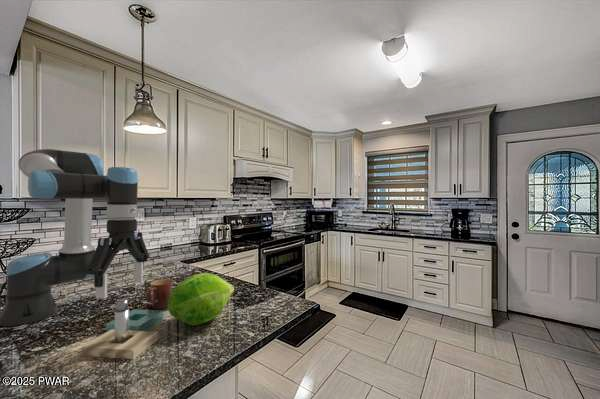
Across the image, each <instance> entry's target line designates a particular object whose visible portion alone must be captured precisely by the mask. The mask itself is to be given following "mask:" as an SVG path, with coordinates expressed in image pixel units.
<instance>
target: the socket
mask: <svg viewBox="0 0 600 399" xmlns="http://www.w3.org/2000/svg"><path fill="white" fill-rule="evenodd" d="M163 319H164V310H161V309H137V308H135V309H134V308H133V309H132V310H129V330H132V331H148V330H150V329H151V328H152V327H153V326H155V325H157V324H158V323H159V322H160V321H162V320H163ZM112 329H114V330H115V319H113V320H111V321H110V322H108V323H106V324H105V333H106V332H108V331H110V330H112ZM147 329H148V330H147Z"/></svg>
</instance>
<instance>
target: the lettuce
mask: <svg viewBox="0 0 600 399" xmlns="http://www.w3.org/2000/svg"><path fill="white" fill-rule="evenodd" d="M234 291H235V287H234V286H233V285H232V284H231V283H230V282H228V281H226V280H225V279H223V278H222V277H220V276H218V275H216V274H214V273H210V272H208V273H207V272H206V273H205V272H204V273H203V272H202V273H196V274H193V275H190V276H188V277H187V278H185V279H184V280H183V281H182V282H180V283H179V284H177V285H176V286H175V287H174V289H172V293H171V295H170V296H169V298H168V305H167V309H168V312H169V314H170V315H171V316H172V317H173V318H174V319H176V320H178V321H180V322H183V323H186V324H188V325H190V326H198V325H202V324H204V323H205V324H206V323H208V322H210V321H212V320H214V319H216V318H217V317H218V316H220V314H221V312H222V311H223V309H224V308H225V306H226V305H227V303H228V302H229V298H230V297H231V296H232V295H233V294H234Z"/></svg>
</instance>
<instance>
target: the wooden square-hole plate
mask: <svg viewBox="0 0 600 399" xmlns="http://www.w3.org/2000/svg"><path fill="white" fill-rule="evenodd" d="M158 339H159V331H148V330H146V331H132V330H129V340H128V341H126V342H125V343H123V344H117V343H114V340H115V330H114V329H112V330H110V331H108V332H106V331H105V332H104V333H103V334H102V335H99V336H98V337H96V338H95V339H93V340H91V341H89V342H88V343H86V344H84V345H83V346H81V356H82V357H83V356H84V357H95V358H109V359H123V360H135V359H136V358H137V357H138V356H140V355H141V354H142V353H143V352H145V351H146V350H147V349H149V348H150V347H151V346H152V345H154V344H155V343H156V342H157V341H159V340H158Z"/></svg>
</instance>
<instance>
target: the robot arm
mask: <svg viewBox="0 0 600 399" xmlns="http://www.w3.org/2000/svg"><path fill="white" fill-rule="evenodd" d="M18 168H19V170H20V171H21V173H22V174H23V175H24V176H25V177H27V178H28V179H27V191H28V195H29V196H30V197H31V198H33V199H45V200H50V199H51V200H52V199H53V200H59V199H64V200H65V208H64V231H63V232H64V236H63V237H64V238H63V246H62V247H61V248H59V249H58V254H57V255H56V254H55V255H52V253H51V252H42V253H35V254H29V255H25V256H21V257H18V258H15V259H12V260H10V261H9V262H8V264H7V267H6V273H5V276H6V301H5V304H4V306H3V308H2V311H1V312H0V326H1V327H15V326H22V325H27V324H31V323H35V322H39V321H41V320H44V319H47V318H49V317H51V316H54V314H56V313H57V312H58V305H57V303H56V301H55V299H54V296H53V294H52V286H55V285H56V286H57V285H60V284H61V285H62V284H67V283H72V282H76V281H83V280H86V279H92V278H93V277H94V278H93V281H94V282H93V285H94V286H93V287H94V288H95V299H101V300H102V299H103V300H105V299H107V298H108V274H107V272H106V271H107V270H108V268H109V267H110V265H111V264H112V261H113V260H114V258H115V256H116V255H117V254H118V253H119V252H120V251H124V250H127V251H128V253H129V254H130V255H131V256H132V257H133V259H134V260H135V261H134V262H133V283H139V284H140V283H143V282H144V270H145V262H147V261H148V259H149V258H150V254H149V252H148V249H147V247H146V246H147V245H146V243H145V241H144V239H143V238H144V237H143V236H144V235H143V232H142V231H137V230H138V220H137V219H136V218H137V217H138V187H139V186H138V183H139V178H138V177H139V176H138V171H137V170H136V168H134V167H133V168H132V167H126V166H125V167H124V166H123V167H122V166H110V167H108V168H107V170H106V171H107V173H106V175H105V171H104V164H103V162H102V159H101V158H100V157H99V156H98V155H97V154H92V153H87V152H79V151H78V152H76V151H70V150H68V151H67V150H62V149H55V148H52V149H51V148H44V149H36V150H35V149H34V150H31V151H29V152H26V153H24V154H23V155H22V156H21V157H20V158H19V160H18ZM94 200H106V203H107V204H106V219H107V220H106V232H107V233H108V237H98V239H97V245H96V247H95V246H94V245H92V223H93V222H92V221H93V201H94Z"/></svg>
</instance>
